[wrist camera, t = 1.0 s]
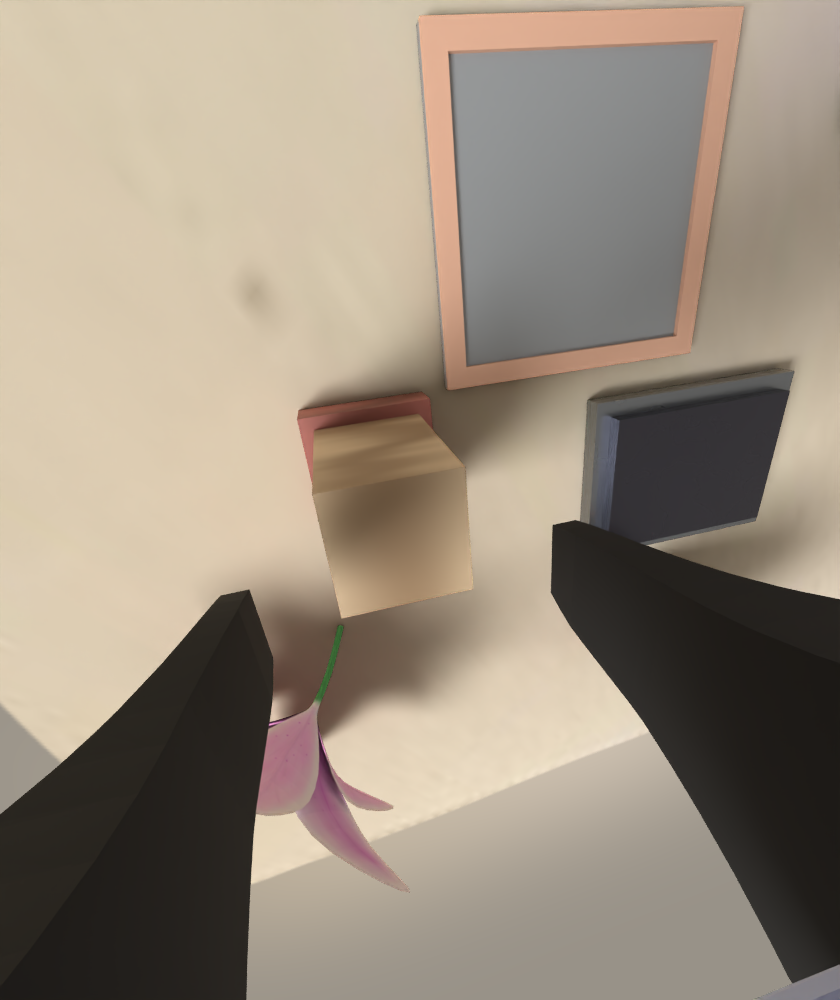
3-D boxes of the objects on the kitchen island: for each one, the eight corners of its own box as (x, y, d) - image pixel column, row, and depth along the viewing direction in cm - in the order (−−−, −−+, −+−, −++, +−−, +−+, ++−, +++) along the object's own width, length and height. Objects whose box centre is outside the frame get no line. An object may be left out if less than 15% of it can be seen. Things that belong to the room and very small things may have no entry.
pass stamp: (421, 391, 18) (482, 445, 11) (432, 500, 20) (489, 598, 14) (298, 410, 17) (287, 479, 11) (324, 520, 20) (327, 635, 13)
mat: (731, 15, 15) (744, 6, 14) (681, 351, 20) (690, 353, 19) (416, 25, 13) (419, 15, 13) (445, 388, 18) (448, 390, 18)
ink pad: (778, 368, 21) (806, 372, 20) (742, 514, 25) (765, 526, 23) (587, 400, 20) (605, 406, 19) (578, 550, 23) (593, 564, 22)
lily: (146, 580, 20) (-2, 846, 14) (386, 557, 17) (333, 891, 11) (281, 674, 29) (226, 865, 22) (458, 671, 25) (451, 893, 19)
